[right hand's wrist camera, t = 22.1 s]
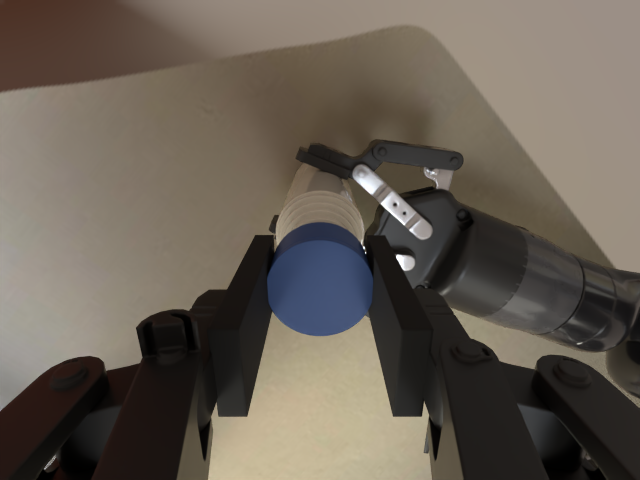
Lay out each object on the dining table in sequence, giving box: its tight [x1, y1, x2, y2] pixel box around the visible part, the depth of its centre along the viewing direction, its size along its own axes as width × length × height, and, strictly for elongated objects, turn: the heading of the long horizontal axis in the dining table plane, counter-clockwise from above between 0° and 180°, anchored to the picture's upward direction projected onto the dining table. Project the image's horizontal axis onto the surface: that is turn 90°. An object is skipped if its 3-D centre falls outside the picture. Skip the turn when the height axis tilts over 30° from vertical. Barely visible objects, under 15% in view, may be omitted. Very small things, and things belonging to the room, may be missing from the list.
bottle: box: [276, 163, 364, 246], centre depth 22 cm, size 5×5×18 cm
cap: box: [267, 222, 373, 336], centre depth 14 cm, size 4×4×2 cm
